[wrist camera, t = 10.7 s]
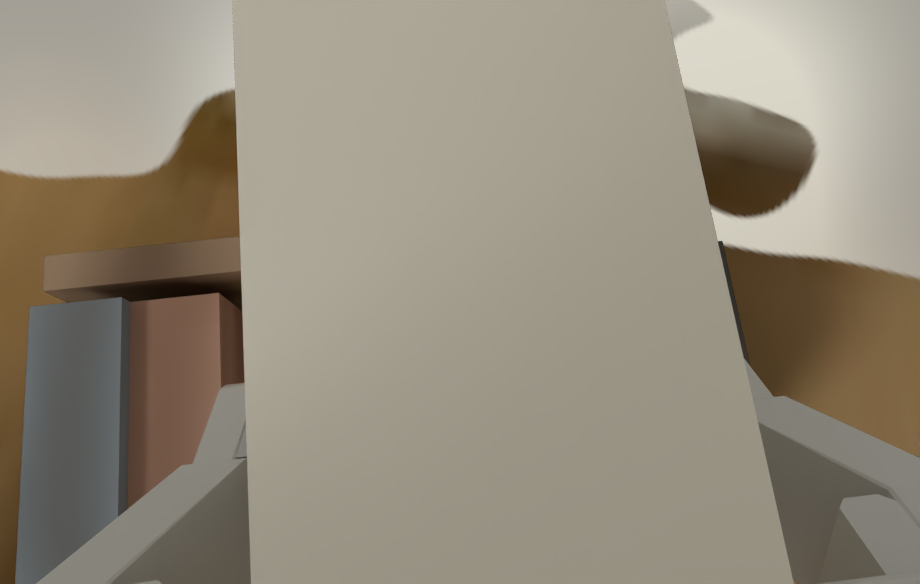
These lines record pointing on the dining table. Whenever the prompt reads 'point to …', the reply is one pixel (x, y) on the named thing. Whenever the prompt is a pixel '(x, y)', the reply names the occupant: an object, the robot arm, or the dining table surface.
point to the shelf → (126, 383)
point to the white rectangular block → (486, 303)
